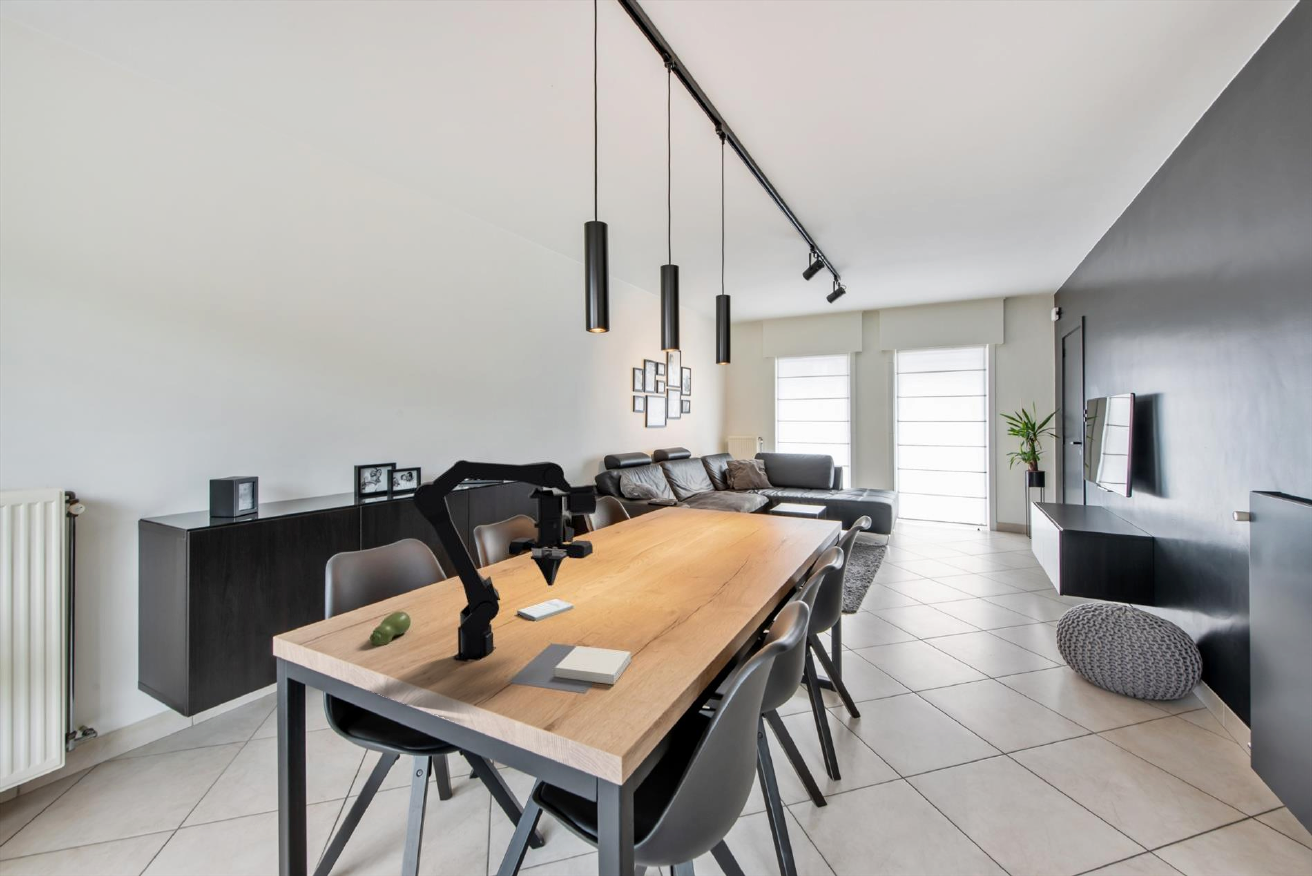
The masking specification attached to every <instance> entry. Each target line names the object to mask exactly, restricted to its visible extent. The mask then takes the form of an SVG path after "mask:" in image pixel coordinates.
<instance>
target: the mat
mask: <svg viewBox="0 0 1312 876" xmlns="http://www.w3.org/2000/svg"><path fill="white" fill-rule="evenodd" d="M576 646H577V645H568V644H559V643H550V644H549V645H547V646H546V647H545V648H544V649H543V650H542V651H540V653H539V654H537V656H535V657H534V658H533V659H532V660H530V661H529V662H528V663H527V664H526V665H525V666H523V667H522V668H521V669H520V670H519V671H518V672H517V673H515V675H514V676H512V677H511V678H510V679H509V680H508V681H506V684H508V683H509V684H515V685H520V686H528V687H534V688H541V689H542V688H543V689H551V690H556V691H565V692H571V693H578V694H579V693H580V694H586V693H587V692H588V690H589V689H590V688H591V687H592V685H594V683H595V682H592V681H584V680H577V679H569V678H561V677H555V667H556V666H557V665H558V664H559V663H560V662H561V661H562V660H563V659H564V658H565V657H566V656H567V655H568V654H569V653H570V652H571V651H572V650H573V649H574V648H575V647H576Z"/></svg>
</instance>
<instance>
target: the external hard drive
mask: <svg viewBox="0 0 1312 876" xmlns="http://www.w3.org/2000/svg"><path fill="white" fill-rule="evenodd" d="M573 609H574V604H573V603H570V602H567V601H565V600H564V601H563V600H561V599H558V598H553V599H550V600H546V601H544V602H541V603H538V604H535V605H531V606H528V607H525V608H522V609H518V610H517V611H516V615H517V614H520V615H522V616H525V617H526V618H525V617H524V618H525V619H527V618H528V620H530V619H531V620H530V621H532V620H533V622H535V621H536V622H539V621H541V619H542V620H544V619H547V617H548V618H550V617H549V616H551V617H553V616H556V615H558V614H561V613H564V612H565V613H566V612H567V611H568V612H569V611H570V610H573ZM520 615H519V616H520ZM522 616H521V617H522Z"/></svg>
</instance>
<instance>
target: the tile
mask: <svg viewBox="0 0 1312 876" xmlns="http://www.w3.org/2000/svg"><path fill="white" fill-rule="evenodd" d="M575 646H576V647H575V648H574V649H573V650H572V651H571V652H570V653H569V654H568V655H567V656H566V657H565V658H564V659H563V660H562V661H561V662H560V663H559V664H558V665H557V666H556V667H555V677H561V678H569V679H577V680H584V681H592V682H594V683H601V684H609V685H615V684H616V683H617V681H618V679H620V676H622V674H623V673H624V671H625V670H626V669H627V667H628V665H629V664H630V663H631V661H632V651H625V650H617V649H609V648H600V647H592V646H591V647H589V646H581V645H580V646H579V645H575Z"/></svg>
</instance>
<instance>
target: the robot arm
mask: <svg viewBox="0 0 1312 876" xmlns="http://www.w3.org/2000/svg"><path fill="white" fill-rule="evenodd" d="M465 480H482V481H483V480H485V481H500V482H501V481H503V482H504V481H506V482H522V483H526V484H529V485H533V486H534V487H533V489H532V490H531V491H530V492H529V493H528V494H527V497H528V498H529V499H530V500H532V499H533V500H534V499H535V500H536V522H534V523H533V524H534V526H533V527H534V528H535V529H537V530H536V537H537V539H535V538H534V537H519V538H515V539H513V540H511V541H510V542H509V544H508V546H507V554H508V555H515V556H517V555H518V556H519V555H521V554H522V553H523V552H524V551H531V552H532V553H531V556H530V560H533V561H534V562H535V563H536V565H537V567H538V569H539V570H540V572H541V574H542V576H543V579H544V580H545V582H546V584H547V586H548V587H552V586H553V585H554V584H555V580H556V578H557V574H558V572H559V568H560V566H561V564H562V562H563V561H564V559H566V558H567V557H568V558H569V559H585V558H586V557H589V556H590V555H591V554H593V551H594V549H593V544H592V542H591V541H590V540H579V539H578V540H574V535H575V528H572V527H570V526H567V525H566V524H567V523H566V519H564V518H563V515H564V513H563V510H564V511H565V512H568V515H569V516H581V515H594V514H595V513H596V511H597V500H596V496H595V495H596V494H595V491H594V486H593V485H591V484H585V485H581V486H578V485H577V486H575V485H574V486H572V485H571V484H570V483H569V482H568V481H567V479H566V478H565V473H564V469H563V468H562V467H561V465H559V464H558V463H555V462H552V461H539V462H531V463H524V464H516V463H515V464H514V463H511V464H510V463H502V462H501V463H499V462H498V463H497V462H485V461H481V462H480V461H469V460H465V459H459V460H458V461H455V463H453V465H452V466H451V467H450V468H449V469H447V470H446V471H445V472H443V473H442V474H441V475H439V476H437V478H435V479H434V480H433V481H427V482H422V483H421V484H420V485H419V486H418V487H417V489H416V490H415V491H414V493H413V496H412V502H413V505H414V506H415V508H416V510H417V511H418V512H419V513H420V515H422V517H423V518H424V519H425V521H426V522H427V523H429V524H430V526H431V527H432V528H433V529H434V531H435V533H436V535H437V538H439V540H440V543H441V545H442V546H443V548H444V551H445V552H446V554H447V556H448V559H449V561H450V562H451V565H452V567H453V568H454V570H455V572H456V574H457V575H458V578H459V579H460V582H461V583H462V587H463V589H464V593H465V597H466V601H467V604H466V606H465V607H464V608H463V609H461V611H460V612H459V619H460V621H459V622H460V623H459V624H460V626H457V653H456V654H454V655H453V660H459V661H467V662H468V661H472V660H473V661H481V660H482V659H483V658H485V657H487V656H489V655H490V654H492V652H494V650H496V649H497V647H496V646H494V633H493V631H492V624H491V621H492V620H494V619H495V618H496V617H497V615H498V613H499V610H500V605H499V601H501V597H500V594H499V590H498V589H497V588H495V586H494V584H493V580H492V578H491V576H488V577H487V578H484V577H483V576H482V575H481V574H480V573H479V571H478V569H477V567H476V565H475V562H474V561H473V559H472V557H471V555H470V553H469V551H468V549H467V546H466V544H465V543H464V541H463V539H462V537H461V535H460V533H459V531H458V529H457V527H456V524H455V523H454V521H453V520H452V519H453V518H452V515H451V512H450V509H449V505H448V501H447V498H446V497H447V495H449V494H450V493H451V492H452V491H453V490H454V489H456V487H458V486H459V485H460V484H461V483H463V482H464V481H465ZM537 486H538V487H541V488H547V489H541V490H540V489H539V488H538V487H537ZM552 489H556V490H559V491H560V493H559V492H558V493H554V491H553V490H552ZM561 492H562V493H561ZM567 542H568V543H567Z"/></svg>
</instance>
